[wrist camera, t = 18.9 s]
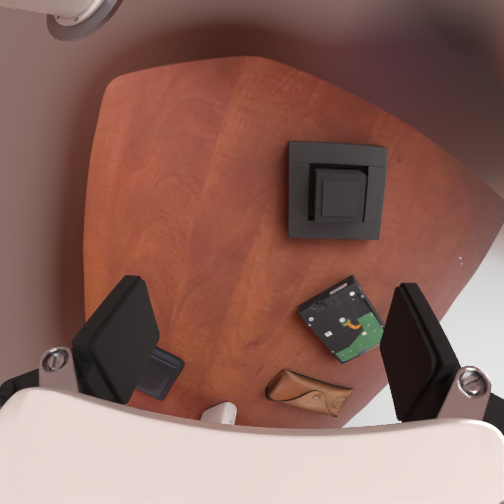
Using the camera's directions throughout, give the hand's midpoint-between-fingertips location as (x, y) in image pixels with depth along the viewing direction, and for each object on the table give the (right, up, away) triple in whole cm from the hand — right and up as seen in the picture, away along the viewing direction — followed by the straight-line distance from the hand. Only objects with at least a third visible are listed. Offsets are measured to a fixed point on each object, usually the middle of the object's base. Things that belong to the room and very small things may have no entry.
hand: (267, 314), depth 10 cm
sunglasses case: (+12, -27, +46) cm, 55 cm away
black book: (-25, -24, +50) cm, 61 cm away
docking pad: (+11, +11, +27) cm, 31 cm away
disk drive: (+15, -9, +37) cm, 41 cm away
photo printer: (-8, -36, +54) cm, 65 cm away
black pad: (+10, +10, +26) cm, 30 cm away
